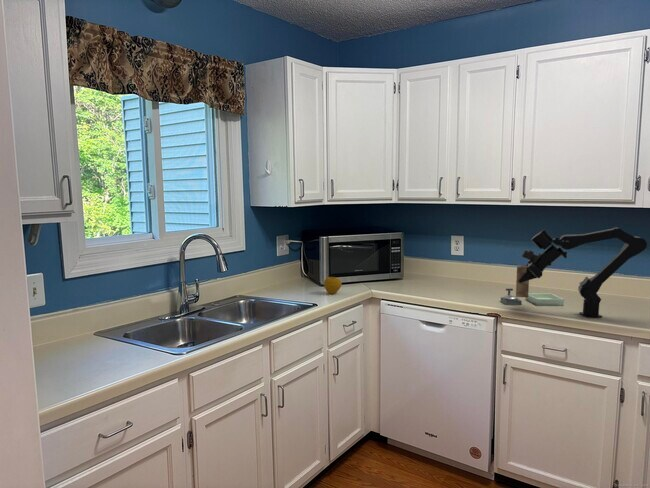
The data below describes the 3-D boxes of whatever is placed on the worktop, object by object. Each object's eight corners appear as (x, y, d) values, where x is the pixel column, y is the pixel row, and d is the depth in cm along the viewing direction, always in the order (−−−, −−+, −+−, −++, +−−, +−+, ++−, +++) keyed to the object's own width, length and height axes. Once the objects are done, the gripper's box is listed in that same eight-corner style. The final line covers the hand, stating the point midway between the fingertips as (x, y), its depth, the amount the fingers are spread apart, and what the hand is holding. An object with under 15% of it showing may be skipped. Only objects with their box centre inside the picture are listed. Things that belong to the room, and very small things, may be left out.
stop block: (528, 294, 211) (529, 266, 209) (528, 297, 206) (529, 268, 204) (516, 294, 213) (517, 265, 211) (515, 296, 208) (516, 267, 206)
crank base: (521, 304, 219) (521, 300, 218) (506, 304, 219) (506, 300, 218) (515, 301, 225) (515, 297, 225) (500, 301, 225) (500, 297, 225)
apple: (344, 293, 243) (344, 276, 242) (334, 296, 237) (334, 278, 235) (331, 291, 249) (331, 274, 248) (320, 294, 242) (320, 276, 241)
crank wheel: (520, 300, 219) (520, 291, 218) (507, 300, 219) (507, 291, 218) (514, 297, 225) (515, 288, 224) (502, 297, 225) (502, 288, 224)
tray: (563, 305, 217) (563, 299, 217) (536, 305, 217) (537, 299, 217) (550, 299, 229) (551, 293, 229) (525, 299, 229) (525, 293, 229)
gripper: (533, 241, 214) (506, 264, 219) (535, 245, 197) (505, 270, 202) (552, 259, 212) (524, 282, 217) (555, 265, 195) (524, 290, 200)
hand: (519, 280), depth 209 cm, fingers closed on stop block, 5 cm apart
